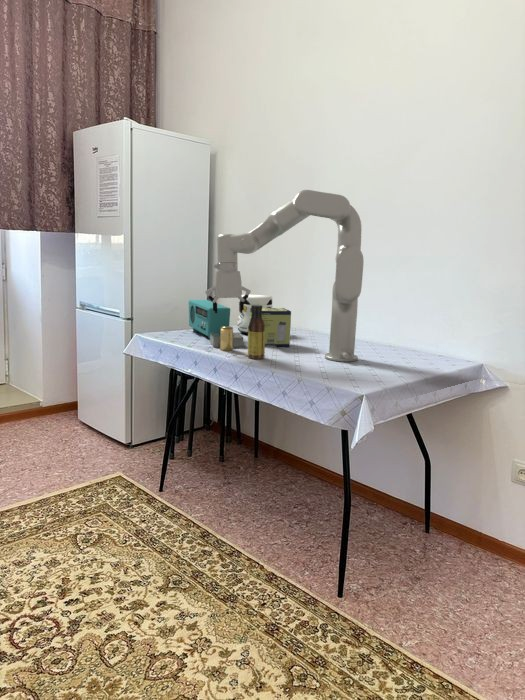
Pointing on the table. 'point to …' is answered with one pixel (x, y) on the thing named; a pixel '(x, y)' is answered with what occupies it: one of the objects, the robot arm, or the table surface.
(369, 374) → the table surface
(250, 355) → the sauce bottle
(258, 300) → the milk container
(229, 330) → the gold drink can
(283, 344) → the protein box
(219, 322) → the radio
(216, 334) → the housing
